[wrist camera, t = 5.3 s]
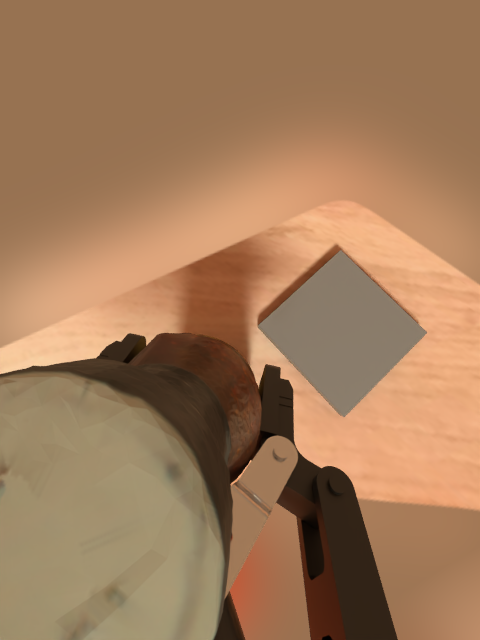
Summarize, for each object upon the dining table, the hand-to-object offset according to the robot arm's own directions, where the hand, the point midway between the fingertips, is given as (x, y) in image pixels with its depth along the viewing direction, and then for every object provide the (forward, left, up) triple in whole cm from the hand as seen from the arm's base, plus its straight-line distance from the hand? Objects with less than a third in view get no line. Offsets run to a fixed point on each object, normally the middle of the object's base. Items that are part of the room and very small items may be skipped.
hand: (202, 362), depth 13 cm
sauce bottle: (-1, +1, -10) cm, 10 cm away
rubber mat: (-5, -10, -9) cm, 14 cm away
